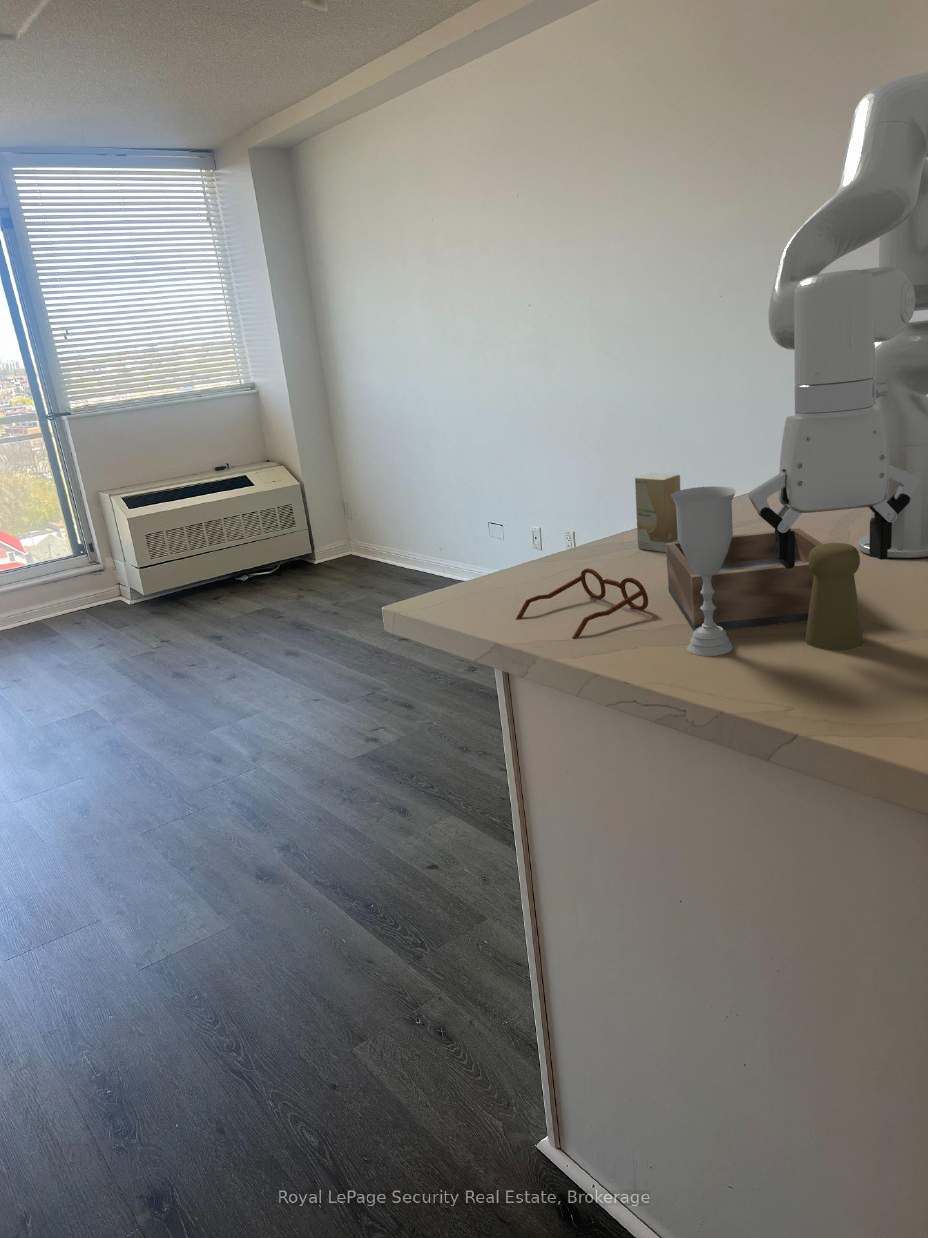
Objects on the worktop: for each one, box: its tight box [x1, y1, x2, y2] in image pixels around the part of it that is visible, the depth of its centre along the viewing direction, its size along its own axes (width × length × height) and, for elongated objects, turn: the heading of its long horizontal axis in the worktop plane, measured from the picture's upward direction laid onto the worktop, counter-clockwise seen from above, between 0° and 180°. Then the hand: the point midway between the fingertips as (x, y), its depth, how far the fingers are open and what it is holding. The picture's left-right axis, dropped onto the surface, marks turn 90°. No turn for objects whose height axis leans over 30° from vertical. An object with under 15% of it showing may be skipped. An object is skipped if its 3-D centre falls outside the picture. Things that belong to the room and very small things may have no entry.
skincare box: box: [634, 472, 681, 553], centre depth 145 cm, size 6×4×12 cm
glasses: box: [515, 568, 649, 640], centre depth 117 cm, size 13×13×5 cm
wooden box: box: [665, 527, 823, 632], centre depth 113 cm, size 18×18×7 cm
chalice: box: [671, 486, 737, 657], centre depth 98 cm, size 7×7×18 cm
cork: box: [804, 542, 864, 651], centre depth 97 cm, size 6×6×11 cm
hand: (832, 561), depth 95 cm, fingers open, 9 cm apart
